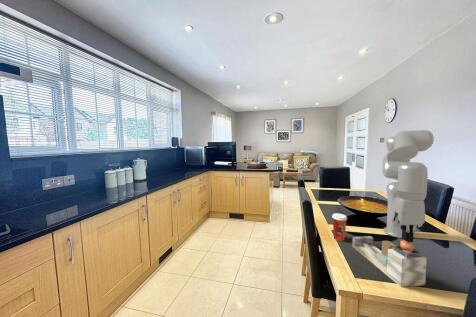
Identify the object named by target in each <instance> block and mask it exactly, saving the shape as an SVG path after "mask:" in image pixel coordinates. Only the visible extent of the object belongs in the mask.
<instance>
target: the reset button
mask: <svg viewBox="0 0 476 317" xmlns="http://www.w3.org/2000/svg"><path fill="white" fill-rule="evenodd" d="M399 242H400V244H399V245H400V248H401V249H403V250H406V251H410V252H412V251H414V249H415V244H414V243H413V242H407V241H405V240H403V239H402V240H400V241H399Z"/></svg>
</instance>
